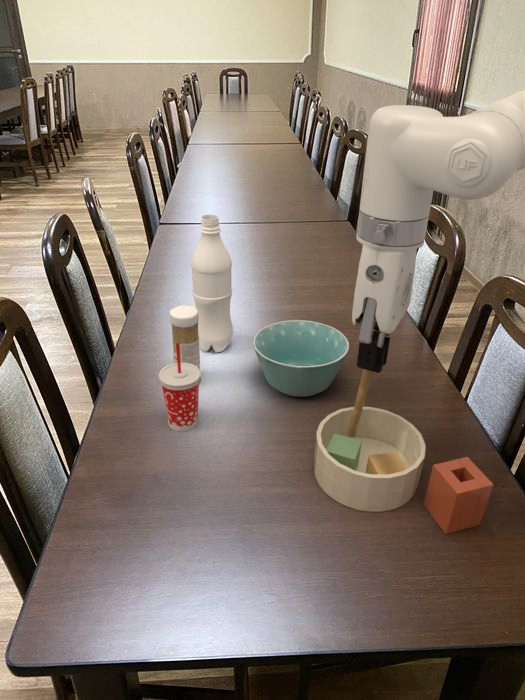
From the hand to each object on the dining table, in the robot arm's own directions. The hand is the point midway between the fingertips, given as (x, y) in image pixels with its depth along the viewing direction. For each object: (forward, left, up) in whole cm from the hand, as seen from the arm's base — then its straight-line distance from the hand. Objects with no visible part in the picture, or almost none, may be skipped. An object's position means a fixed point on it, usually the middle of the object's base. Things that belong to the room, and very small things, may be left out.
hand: (371, 364), depth 69 cm
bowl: (+2, -19, -16) cm, 25 cm away
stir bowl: (+1, +4, -15) cm, 16 cm away
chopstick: (+1, -1, -12) cm, 12 cm away
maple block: (0, +7, -15) cm, 16 cm away
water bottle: (+13, -35, -16) cm, 41 cm away
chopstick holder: (-6, +14, -15) cm, 21 cm away
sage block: (+4, +3, -15) cm, 15 cm away
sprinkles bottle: (+20, -25, -16) cm, 36 cm away
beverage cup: (+23, -14, -16) cm, 31 cm away
